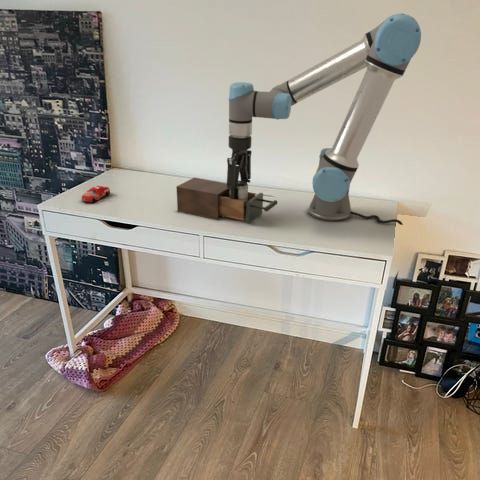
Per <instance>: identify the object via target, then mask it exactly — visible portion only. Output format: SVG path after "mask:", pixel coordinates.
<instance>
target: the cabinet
mask: <svg viewBox="0 0 480 480" xmlns="http://www.w3.org/2000/svg"><path fill="white" fill-rule="evenodd" d="M228 190H230V188H227V182H221V181H216V180H210V179H206V178H199V177H192V178H190V179H189V180H187V181H184V182H182V183H181V184H178V185H176V205H177V212H178V213H183V214H188V215H193V216H197V217H202V218H205V219H211V220H216V221H219V220H220V219H222V218H223V217H224V216H221V215H219V196H220V195H222V194H223V193H225V192H227V191H228Z"/></svg>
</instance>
